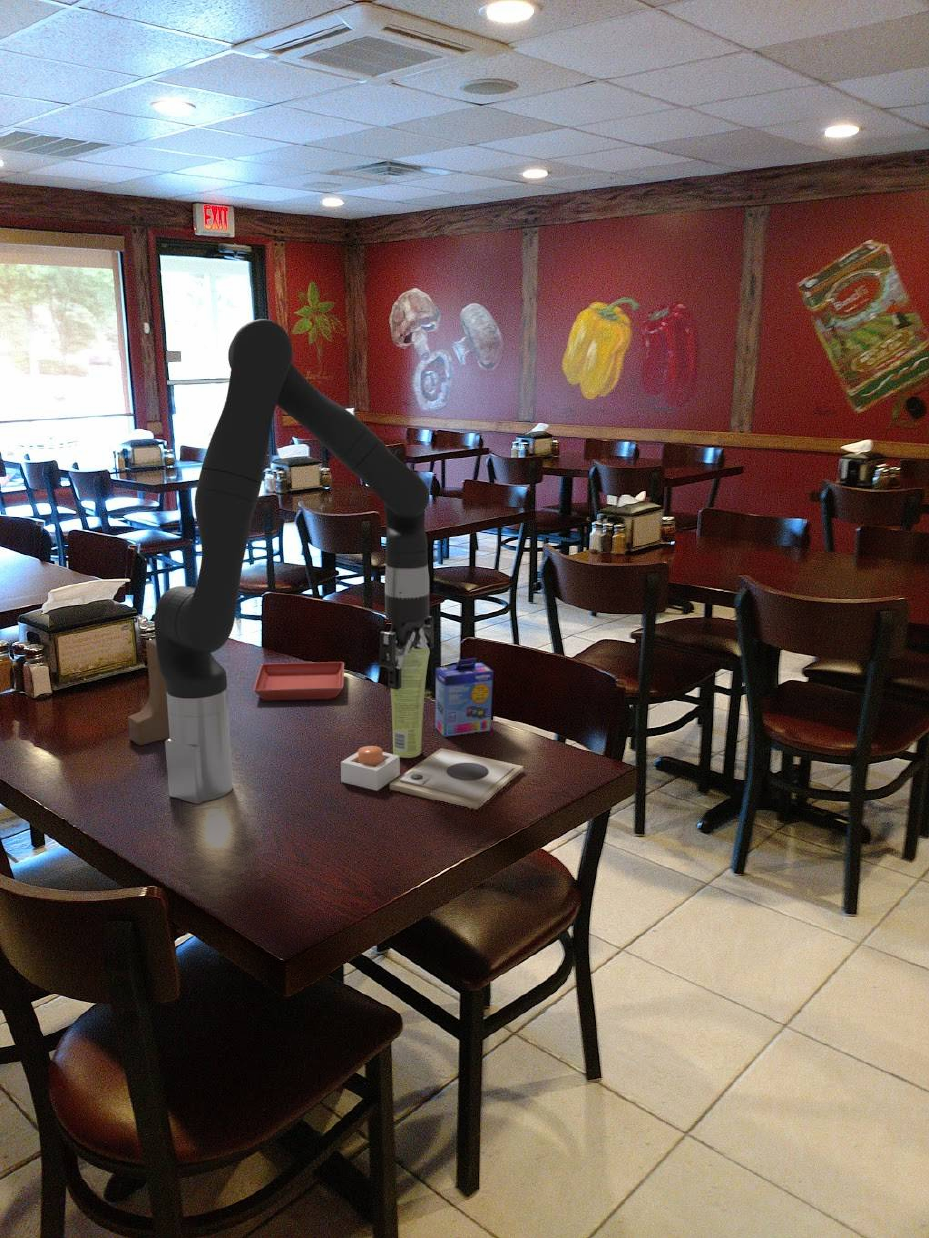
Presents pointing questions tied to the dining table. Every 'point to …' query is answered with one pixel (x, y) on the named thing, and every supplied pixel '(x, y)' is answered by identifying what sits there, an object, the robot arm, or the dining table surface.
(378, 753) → the button
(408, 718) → the tube
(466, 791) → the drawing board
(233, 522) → the robot arm
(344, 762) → the button housing
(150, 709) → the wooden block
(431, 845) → the dining table surface
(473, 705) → the ink cartridge box
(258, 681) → the plant saucer
